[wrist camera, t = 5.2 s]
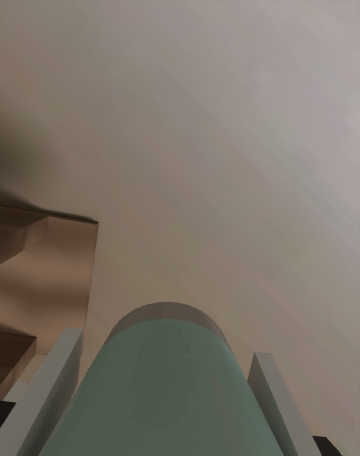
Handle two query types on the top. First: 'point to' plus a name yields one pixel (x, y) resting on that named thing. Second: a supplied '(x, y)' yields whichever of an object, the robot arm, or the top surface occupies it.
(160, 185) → the top surface
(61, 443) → the coffee cup
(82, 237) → the wooden stand
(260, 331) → the top surface
